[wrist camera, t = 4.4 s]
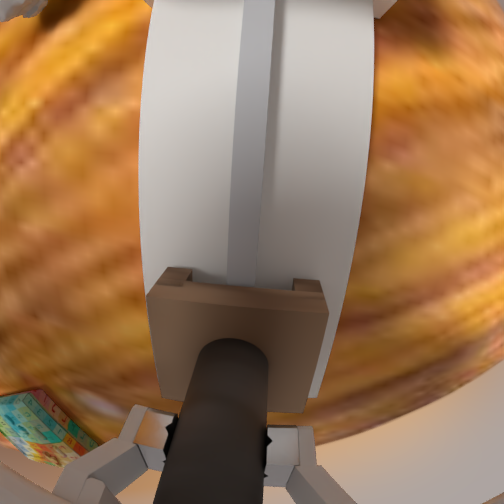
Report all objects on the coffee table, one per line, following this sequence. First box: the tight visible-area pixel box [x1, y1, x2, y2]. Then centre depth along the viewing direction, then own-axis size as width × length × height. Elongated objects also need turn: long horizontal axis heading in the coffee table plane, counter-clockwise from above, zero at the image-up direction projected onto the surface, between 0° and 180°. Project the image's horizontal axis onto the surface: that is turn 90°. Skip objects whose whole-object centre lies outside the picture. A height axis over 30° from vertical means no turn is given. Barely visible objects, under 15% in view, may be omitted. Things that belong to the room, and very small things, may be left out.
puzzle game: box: [0, 389, 98, 468], centre depth 24 cm, size 12×5×20 cm
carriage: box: [146, 267, 329, 504], centre depth 10 cm, size 7×6×10 cm
